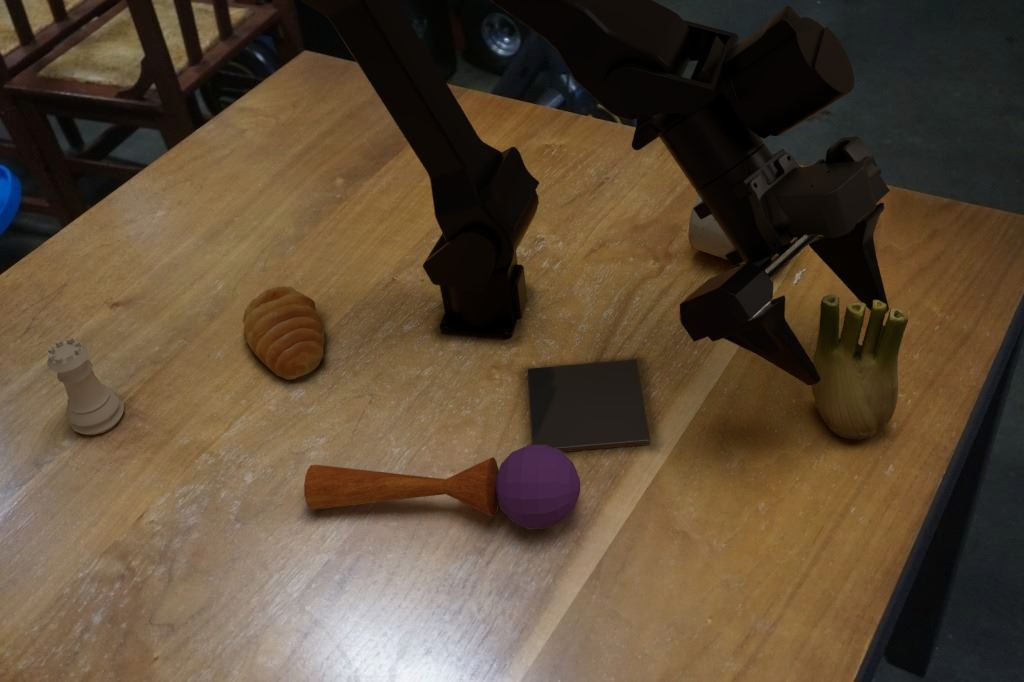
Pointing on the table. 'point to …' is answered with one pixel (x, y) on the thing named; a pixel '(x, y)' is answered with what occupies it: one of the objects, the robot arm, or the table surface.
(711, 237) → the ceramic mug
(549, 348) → the table surface
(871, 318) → the fennel bulb
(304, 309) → the pastry
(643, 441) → the slate coaster
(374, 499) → the kendama
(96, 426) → the rook chess piece
